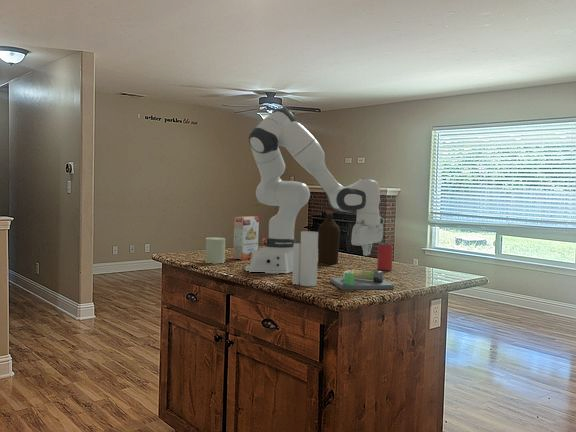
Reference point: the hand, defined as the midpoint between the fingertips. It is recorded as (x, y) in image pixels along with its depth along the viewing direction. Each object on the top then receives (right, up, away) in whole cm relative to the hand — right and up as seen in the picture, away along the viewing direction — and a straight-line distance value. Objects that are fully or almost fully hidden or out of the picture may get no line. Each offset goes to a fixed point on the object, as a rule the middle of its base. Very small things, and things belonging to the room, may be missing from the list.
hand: (366, 255), depth 213 cm
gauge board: (-3, -11, -7) cm, 13 cm away
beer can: (+13, -9, +32) cm, 36 cm away
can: (-65, -7, +39) cm, 76 cm away
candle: (-25, -11, -7) cm, 28 cm away
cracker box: (-52, -6, +56) cm, 77 cm away
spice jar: (-1, -9, -5) cm, 10 cm away
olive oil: (-12, -8, +48) cm, 50 cm away
